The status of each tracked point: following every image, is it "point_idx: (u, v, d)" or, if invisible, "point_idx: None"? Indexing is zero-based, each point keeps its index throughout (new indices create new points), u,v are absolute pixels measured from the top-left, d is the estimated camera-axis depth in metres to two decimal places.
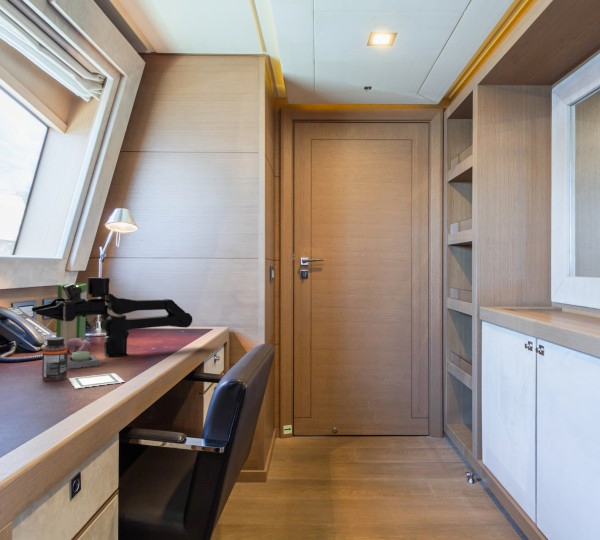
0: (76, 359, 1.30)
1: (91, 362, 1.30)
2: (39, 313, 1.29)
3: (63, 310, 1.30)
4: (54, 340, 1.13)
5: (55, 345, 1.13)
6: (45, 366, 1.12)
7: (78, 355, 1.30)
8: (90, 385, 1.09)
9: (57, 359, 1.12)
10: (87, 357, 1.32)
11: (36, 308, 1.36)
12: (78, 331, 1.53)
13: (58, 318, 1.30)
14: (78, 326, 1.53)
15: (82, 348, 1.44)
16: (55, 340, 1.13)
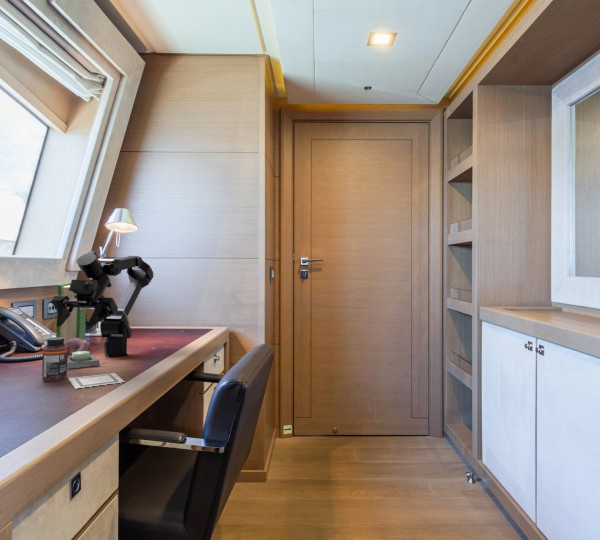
0: (76, 359, 1.30)
1: (91, 362, 1.30)
2: (91, 326, 1.23)
3: (107, 309, 1.27)
4: (54, 340, 1.13)
5: (55, 345, 1.13)
6: (45, 366, 1.12)
7: (78, 355, 1.30)
8: (90, 385, 1.09)
9: (57, 358, 1.12)
10: (87, 357, 1.32)
11: (59, 322, 1.23)
12: (78, 331, 1.53)
13: (104, 317, 1.28)
14: (78, 326, 1.53)
15: (81, 348, 1.43)
16: (55, 340, 1.13)
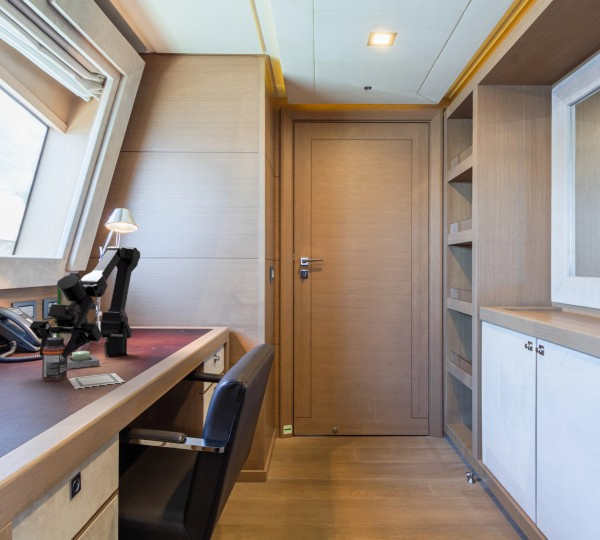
0: (76, 359, 1.30)
1: (91, 362, 1.30)
2: (66, 354, 1.14)
3: (85, 335, 1.18)
4: (54, 340, 1.13)
5: (55, 345, 1.13)
6: (45, 366, 1.12)
7: (78, 355, 1.30)
8: (90, 385, 1.09)
9: (57, 358, 1.12)
10: (87, 357, 1.32)
11: None
12: None
13: (82, 344, 1.19)
14: None
15: (81, 348, 1.43)
16: (55, 340, 1.13)
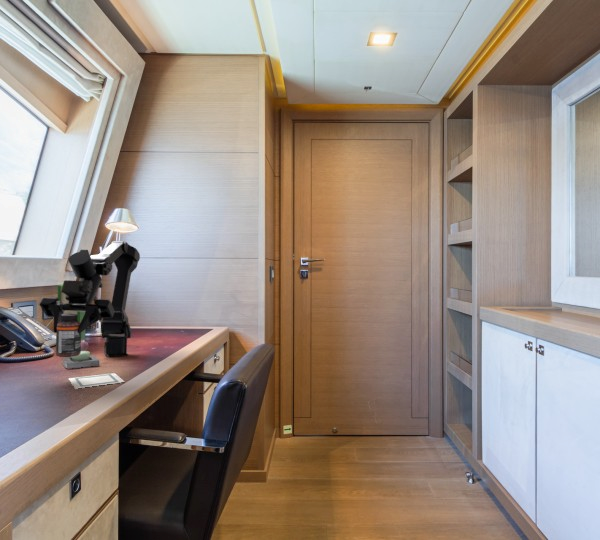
0: (76, 359, 1.30)
1: (91, 362, 1.30)
2: (81, 330, 1.14)
3: (99, 312, 1.18)
4: (69, 316, 1.12)
5: (70, 321, 1.12)
6: (60, 342, 1.11)
7: (78, 355, 1.30)
8: (90, 385, 1.09)
9: (72, 334, 1.12)
10: (87, 357, 1.32)
11: (56, 327, 1.13)
12: None
13: (95, 320, 1.19)
14: None
15: None
16: (70, 316, 1.12)
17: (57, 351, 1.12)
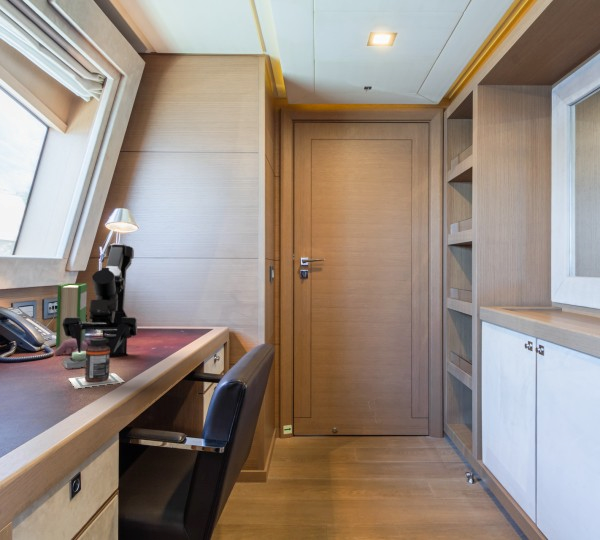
0: (76, 359, 1.30)
1: None
2: (115, 349, 1.15)
3: (129, 330, 1.19)
4: (100, 340, 1.13)
5: (102, 345, 1.13)
6: (91, 367, 1.11)
7: (78, 355, 1.30)
8: (90, 385, 1.09)
9: (104, 359, 1.13)
10: None
11: (80, 347, 1.12)
12: None
13: (124, 338, 1.20)
14: None
15: None
16: (101, 340, 1.13)
17: (88, 376, 1.11)
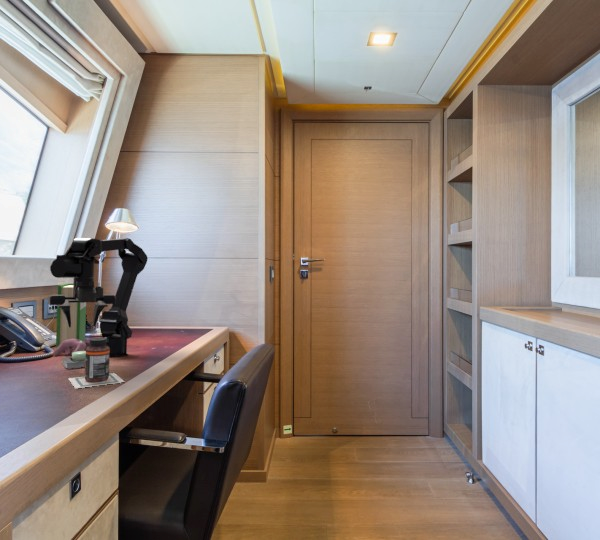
0: (76, 359, 1.30)
1: None
2: None
3: None
4: (100, 340, 1.13)
5: (101, 346, 1.13)
6: (91, 367, 1.11)
7: (78, 355, 1.30)
8: (90, 385, 1.09)
9: (104, 359, 1.13)
10: None
11: None
12: (78, 331, 1.53)
13: None
14: (78, 326, 1.53)
15: (78, 349, 1.42)
16: (101, 340, 1.13)
17: (88, 376, 1.11)
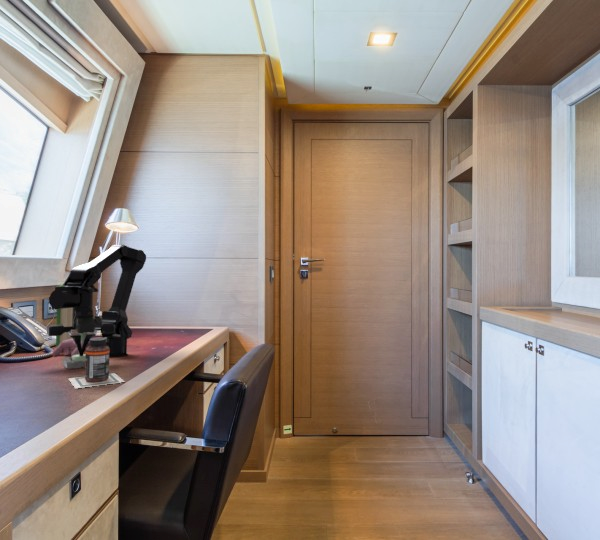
0: None
1: None
2: None
3: (94, 333, 1.34)
4: (100, 340, 1.13)
5: (101, 346, 1.13)
6: (91, 367, 1.11)
7: (78, 358, 1.30)
8: (90, 385, 1.09)
9: (104, 359, 1.12)
10: None
11: None
12: None
13: None
14: None
15: None
16: (100, 340, 1.13)
17: (87, 376, 1.11)
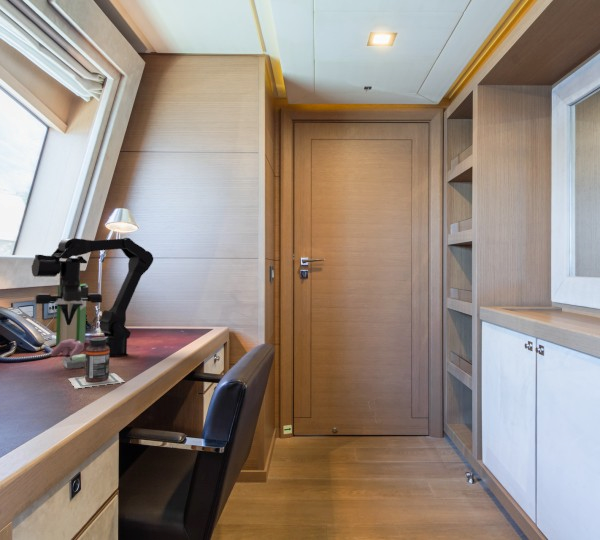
0: None
1: None
2: None
3: (81, 303, 1.37)
4: (100, 340, 1.13)
5: (101, 346, 1.13)
6: (91, 367, 1.11)
7: (78, 358, 1.30)
8: (90, 385, 1.09)
9: (104, 359, 1.12)
10: None
11: None
12: (78, 331, 1.53)
13: None
14: (78, 326, 1.53)
15: (76, 350, 1.41)
16: (101, 340, 1.13)
17: (87, 376, 1.11)
